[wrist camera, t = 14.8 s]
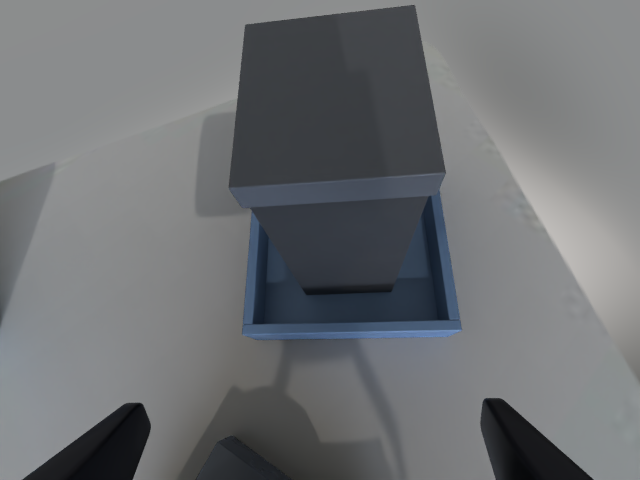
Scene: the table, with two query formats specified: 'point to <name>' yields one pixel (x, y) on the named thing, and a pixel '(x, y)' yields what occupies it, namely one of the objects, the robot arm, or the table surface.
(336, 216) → the dark grey lidded box
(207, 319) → the table surface
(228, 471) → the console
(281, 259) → the blue shallow square tray
